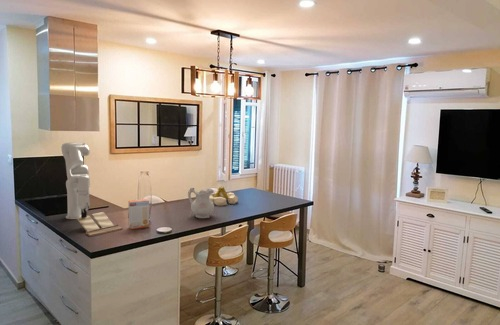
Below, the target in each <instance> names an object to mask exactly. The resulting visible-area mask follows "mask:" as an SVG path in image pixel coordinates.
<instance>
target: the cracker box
mask: <svg viewBox="0 0 500 325" xmlns="http://www.w3.org/2000/svg"><path fill="white" fill-rule="evenodd" d="M128 228H129V230H137V229H145V228H146V229H148V228H150V200H149V199H147V198H146V199H145V198H144V199H132V200H131V199H130V200H128Z"/></svg>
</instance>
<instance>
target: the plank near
mask: <svg viewBox="0 0 500 325" xmlns="http://www.w3.org/2000/svg"><path fill="white" fill-rule="evenodd" d="M76 220H77V221H78V222H79V223H80V225H81V226H82V228H83V229H84V230H85V232H87V231H92V230H96V229H101V227H100V226H99V225H98V223H97V222H96V221H94V218H93V217H92V216H91V215H89V214H87V217H84V218H82V217H77V219H76Z"/></svg>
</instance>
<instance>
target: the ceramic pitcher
mask: <svg viewBox="0 0 500 325" xmlns="http://www.w3.org/2000/svg"><path fill="white" fill-rule="evenodd" d="M191 193H194V195H195V199H194V200H193V198H192V196H191ZM213 193H214V194H215V190H213V189H212V188H211V187H210V188H207V189H206V190H204V189H201V190H200V191H196V190H195V188H194V187H190V189H189V190H188V193H187V197H188V200H189V202H190V208H191V211H192V213H193V214H195V218H198V219H209V218H211V216H210V214H212V213H213V211H214V209H215V203H214V202H212V201H211V200H210V198H209V196H210V195H211V194H212V195H213Z"/></svg>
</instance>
